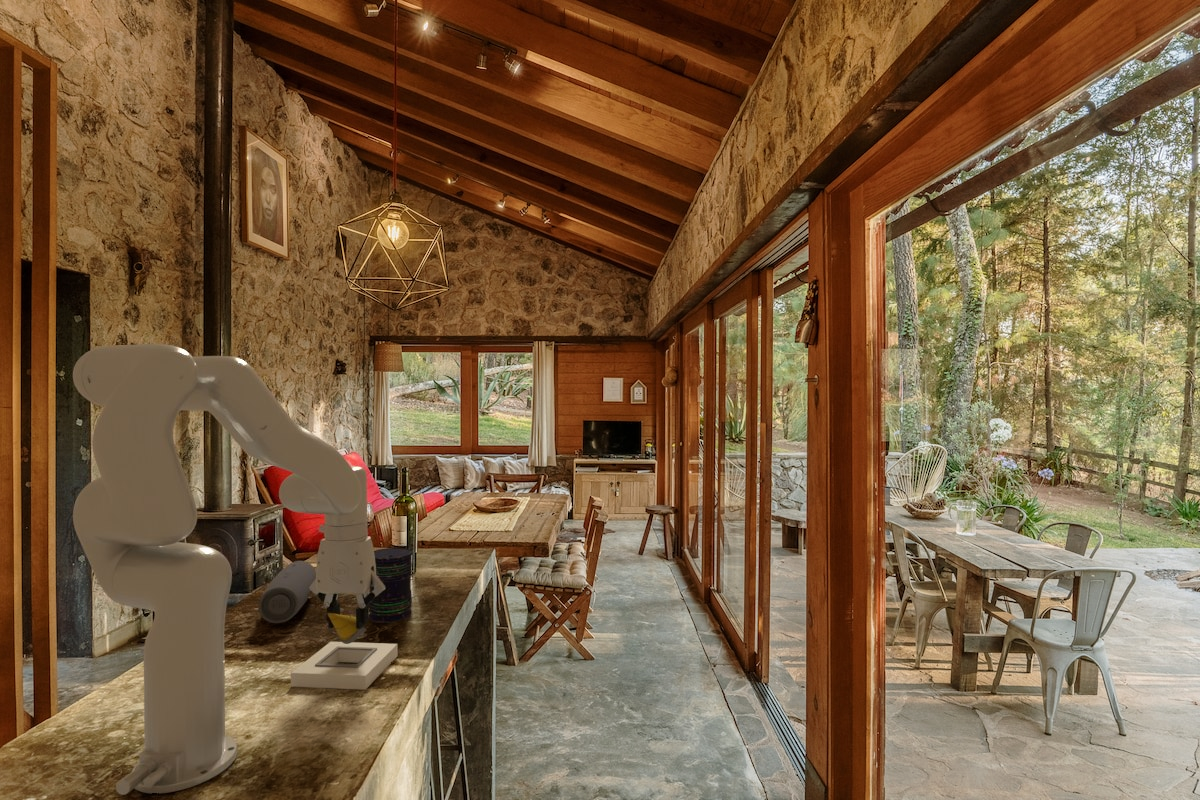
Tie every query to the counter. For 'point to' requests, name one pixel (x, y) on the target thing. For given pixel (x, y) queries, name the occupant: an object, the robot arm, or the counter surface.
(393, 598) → the black cylinder
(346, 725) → the counter surface
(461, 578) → the counter surface
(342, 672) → the square frame plate
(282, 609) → the bluetooth speaker
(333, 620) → the yellow ridged cone
